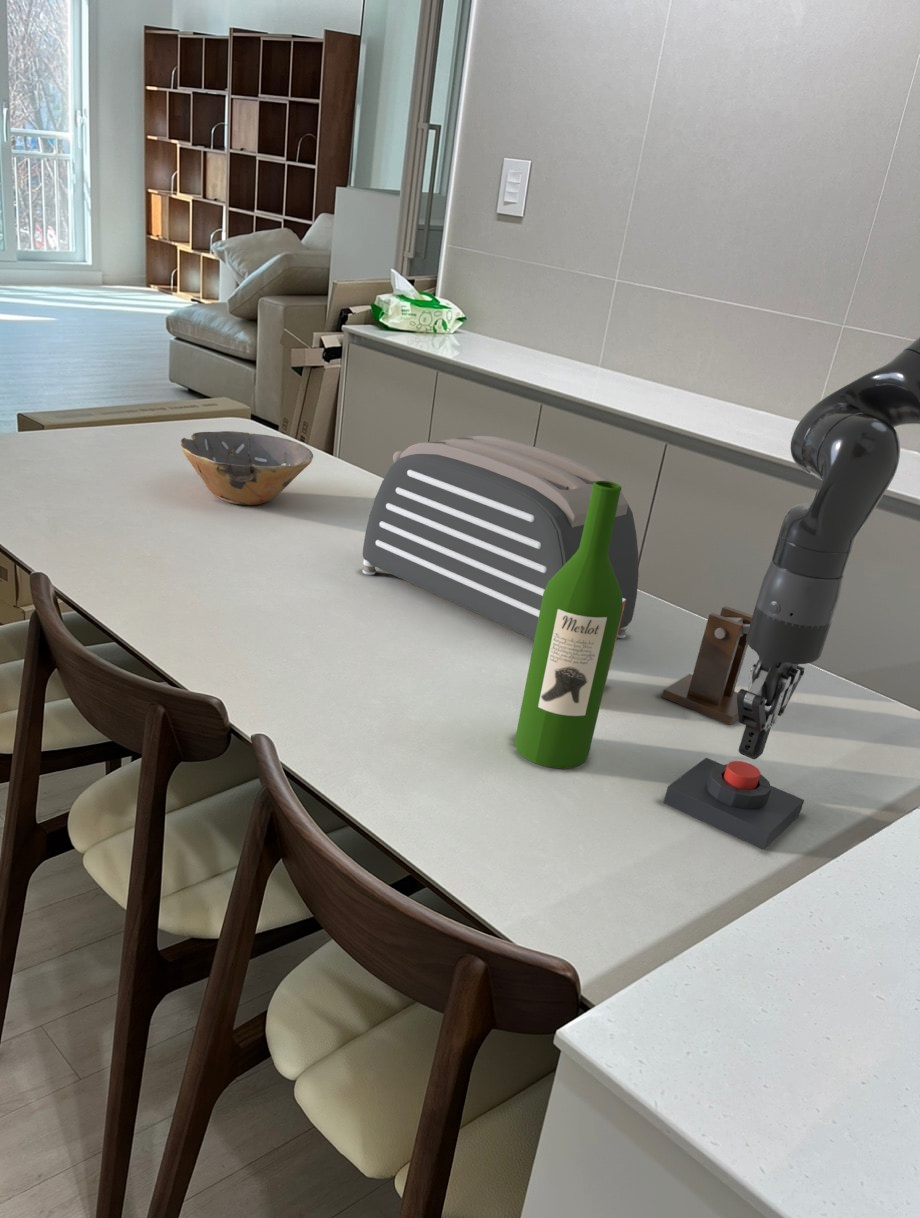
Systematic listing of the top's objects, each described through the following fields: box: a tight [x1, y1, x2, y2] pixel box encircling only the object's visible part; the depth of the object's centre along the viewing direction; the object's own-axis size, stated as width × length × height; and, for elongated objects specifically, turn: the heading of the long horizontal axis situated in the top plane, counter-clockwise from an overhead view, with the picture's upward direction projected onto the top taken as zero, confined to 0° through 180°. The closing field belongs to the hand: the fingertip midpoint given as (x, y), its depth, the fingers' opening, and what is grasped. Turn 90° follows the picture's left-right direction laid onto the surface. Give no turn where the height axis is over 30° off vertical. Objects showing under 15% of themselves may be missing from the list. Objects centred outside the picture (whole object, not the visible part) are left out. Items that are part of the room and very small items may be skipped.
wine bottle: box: [514, 481, 623, 769], centre depth 119 cm, size 9×9×32 cm
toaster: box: [362, 435, 640, 640], centre depth 163 cm, size 19×45×24 cm, turn 44°
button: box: [724, 760, 762, 790], centre depth 117 cm, size 4×4×2 cm
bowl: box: [179, 430, 314, 506], centre depth 199 cm, size 25×25×10 cm
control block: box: [663, 757, 805, 850], centre depth 118 cm, size 12×10×4 cm
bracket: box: [661, 605, 753, 726], centre depth 141 cm, size 10×8×13 cm
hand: (749, 754), depth 116 cm, fingers closed
